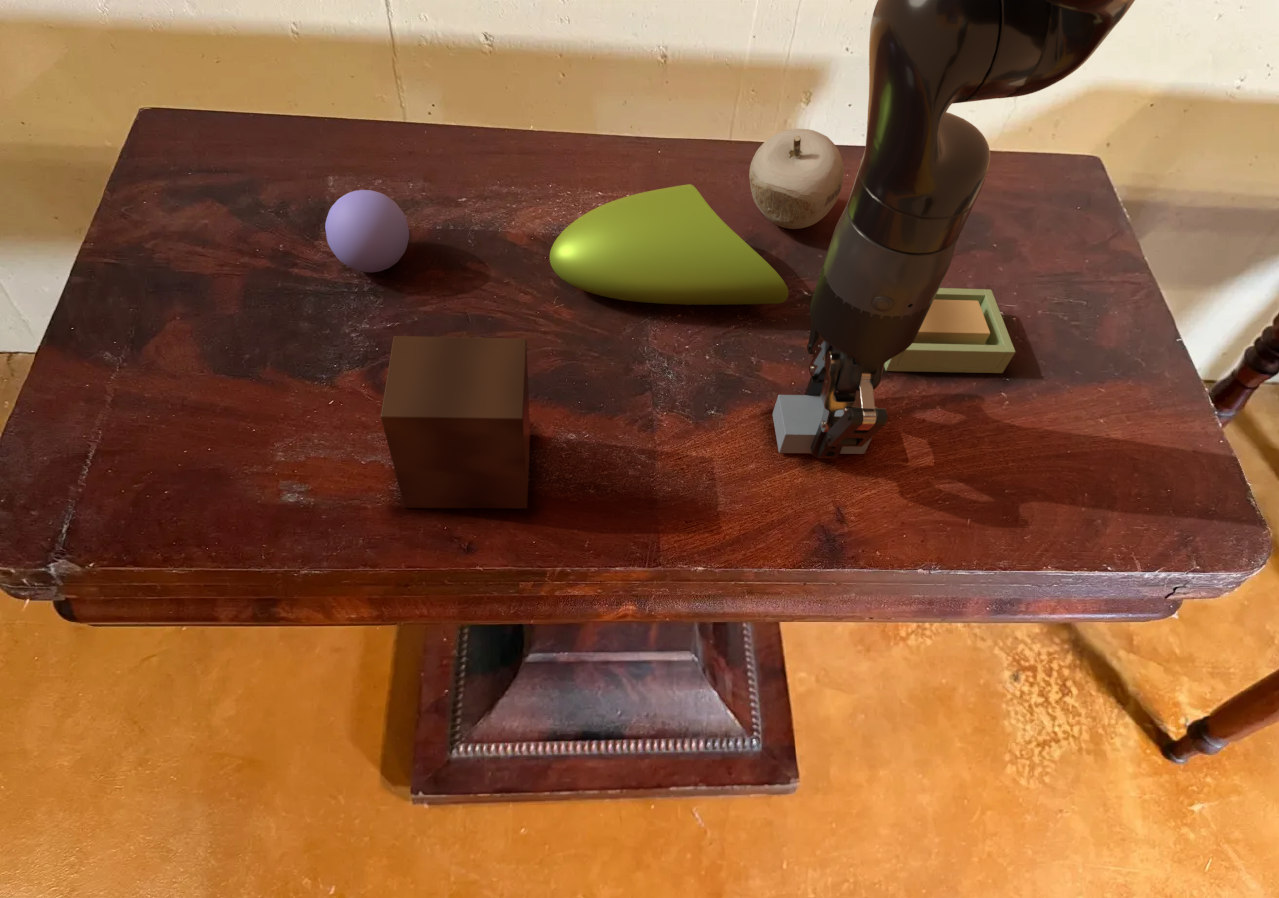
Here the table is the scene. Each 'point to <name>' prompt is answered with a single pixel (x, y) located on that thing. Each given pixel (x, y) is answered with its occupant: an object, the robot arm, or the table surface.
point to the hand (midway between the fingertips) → (819, 430)
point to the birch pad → (954, 323)
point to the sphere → (367, 231)
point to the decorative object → (796, 177)
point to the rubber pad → (802, 424)
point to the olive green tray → (961, 355)
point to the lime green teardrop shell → (663, 253)
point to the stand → (458, 421)
